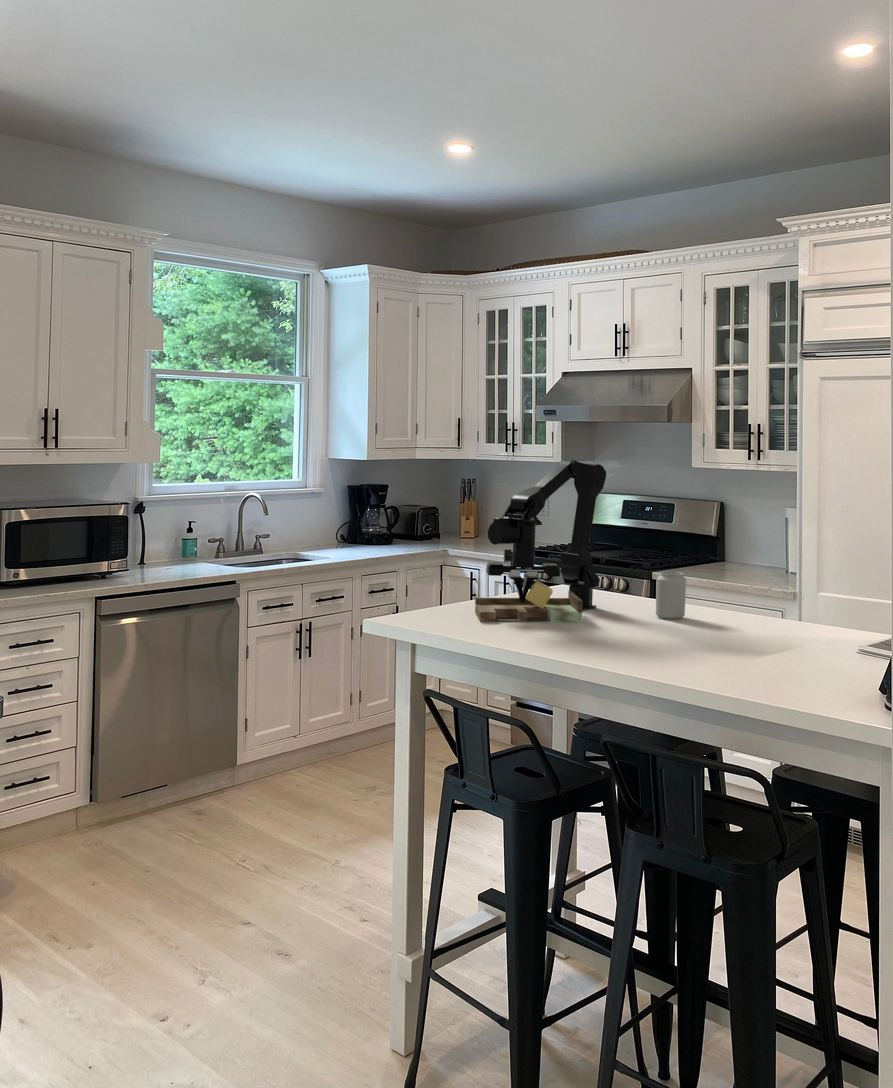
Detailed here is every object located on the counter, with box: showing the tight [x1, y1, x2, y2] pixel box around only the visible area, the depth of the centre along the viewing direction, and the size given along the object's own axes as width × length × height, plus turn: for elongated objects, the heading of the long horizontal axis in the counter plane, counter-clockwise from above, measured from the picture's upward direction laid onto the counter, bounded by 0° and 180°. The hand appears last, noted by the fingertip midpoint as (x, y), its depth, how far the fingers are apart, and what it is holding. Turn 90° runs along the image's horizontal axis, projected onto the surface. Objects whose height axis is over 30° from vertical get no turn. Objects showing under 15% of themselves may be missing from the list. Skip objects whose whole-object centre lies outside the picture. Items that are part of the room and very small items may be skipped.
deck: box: [474, 593, 583, 623], centre depth 254 cm, size 26×13×6 cm, turn 94°
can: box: [655, 571, 687, 621], centre depth 256 cm, size 8×8×12 cm
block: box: [526, 579, 554, 609], centre depth 255 cm, size 5×5×5 cm
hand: (522, 602), depth 256 cm, fingers closed
